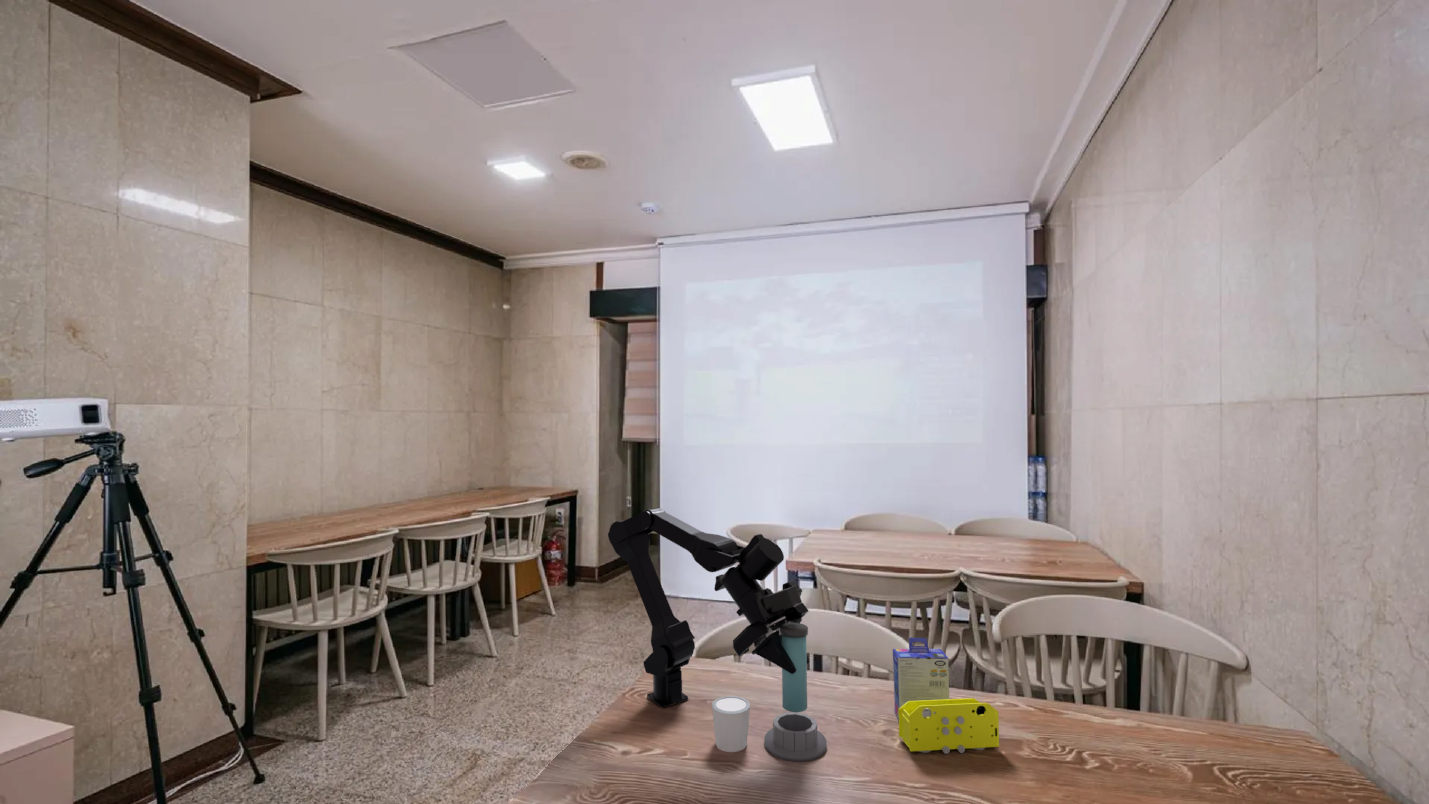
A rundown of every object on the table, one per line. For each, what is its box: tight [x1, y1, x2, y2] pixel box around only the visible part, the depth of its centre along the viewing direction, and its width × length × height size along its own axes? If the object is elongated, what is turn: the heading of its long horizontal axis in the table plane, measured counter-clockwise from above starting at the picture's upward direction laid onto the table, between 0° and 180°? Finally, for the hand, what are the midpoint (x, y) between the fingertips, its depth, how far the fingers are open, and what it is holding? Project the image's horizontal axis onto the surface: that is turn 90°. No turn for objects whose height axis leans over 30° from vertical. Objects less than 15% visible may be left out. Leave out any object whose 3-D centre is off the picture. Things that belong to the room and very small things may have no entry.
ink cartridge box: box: [892, 637, 950, 721], centre depth 118 cm, size 10×6×14 cm, turn 86°
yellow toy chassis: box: [898, 697, 1000, 755], centre depth 107 cm, size 16×6×8 cm, turn 95°
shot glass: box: [711, 695, 751, 753], centre depth 108 cm, size 7×7×7 cm
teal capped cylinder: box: [780, 622, 809, 713], centre depth 108 cm, size 5×5×14 cm
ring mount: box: [763, 711, 828, 763], centre depth 107 cm, size 11×11×4 cm
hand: (801, 668), depth 107 cm, fingers closed on teal capped cylinder, 4 cm apart
